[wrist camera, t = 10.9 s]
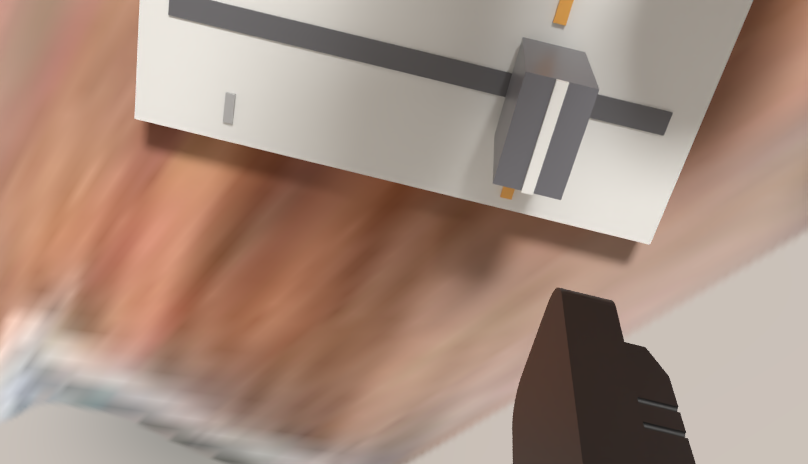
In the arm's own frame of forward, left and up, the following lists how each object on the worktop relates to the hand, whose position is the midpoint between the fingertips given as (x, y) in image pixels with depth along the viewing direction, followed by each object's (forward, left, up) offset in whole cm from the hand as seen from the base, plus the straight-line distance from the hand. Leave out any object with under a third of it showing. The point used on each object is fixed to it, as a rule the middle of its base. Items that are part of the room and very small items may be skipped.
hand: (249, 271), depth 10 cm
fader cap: (+5, +6, -27) cm, 29 cm away
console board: (+5, +1, -30) cm, 30 cm away
